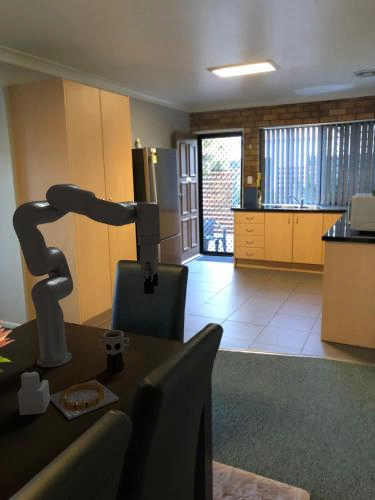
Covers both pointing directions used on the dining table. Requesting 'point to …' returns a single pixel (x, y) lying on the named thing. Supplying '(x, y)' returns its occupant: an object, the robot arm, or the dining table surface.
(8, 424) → the dining table surface
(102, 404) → the white square ringed board
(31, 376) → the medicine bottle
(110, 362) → the character mug
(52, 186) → the robot arm
